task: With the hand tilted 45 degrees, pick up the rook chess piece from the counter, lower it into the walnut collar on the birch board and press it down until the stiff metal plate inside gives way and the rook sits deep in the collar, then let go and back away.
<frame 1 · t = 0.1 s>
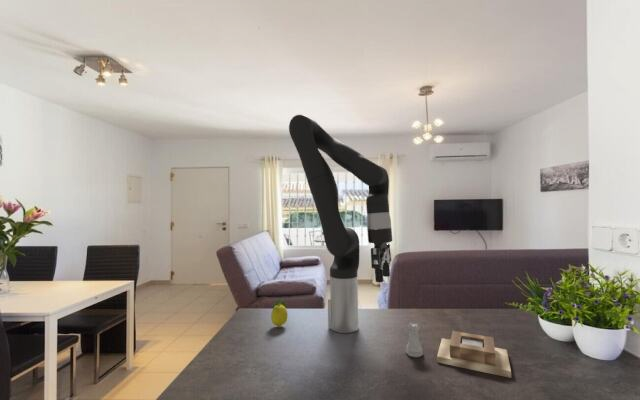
hand: (383, 279, 93), 17 cm above the kitchen counter, tool pointing down, fingers open, 8 cm apart
rook chess piece: (414, 354, 80), on the kitchen counter
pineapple: (279, 328, 100), on the kitchen counter
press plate: (472, 345, 77), point 3 cm above the kitchen counter, slide at 0.0 cm
press socket: (472, 358, 77), on the kitchen counter
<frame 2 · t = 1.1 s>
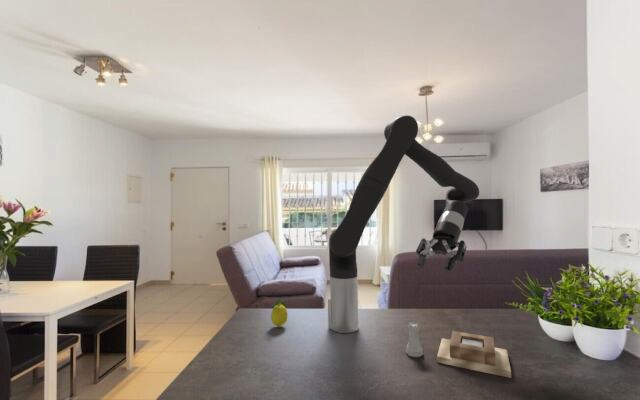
hand: (433, 268, 89), 21 cm above the kitchen counter, tool tilted 45°, fingers open, 8 cm apart
nothing on the kitchen counter moved.
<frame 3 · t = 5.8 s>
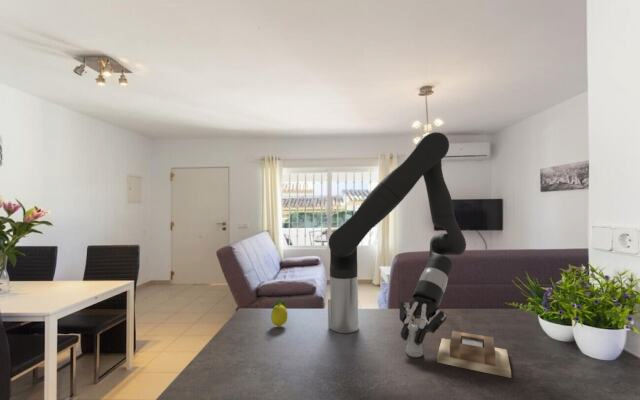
hand: (410, 341, 79), 4 cm above the kitchen counter, tool tilted 45°, fingers closed on rook chess piece, 3 cm apart
rook chess piece: (414, 354, 80), on the kitchen counter, touching gripper
everything else where it was.
when the fingers open (6 cm above the kitchen counter, at t = 12.1 s): rook chess piece stays where it is, resting on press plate.
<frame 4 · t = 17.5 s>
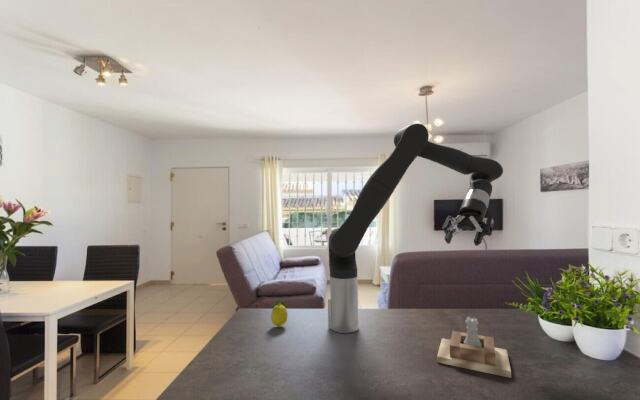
hand: (461, 243, 91), 29 cm above the kitchen counter, tool tilted 45°, fingers open, 8 cm apart
rook chess piece: (472, 350, 77), point 2 cm above the kitchen counter, touching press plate
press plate: (472, 351, 77), point 2 cm above the kitchen counter, slide at -1.6 cm, touching press socket, rook chess piece
everything else where it was.
at the end: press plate slide at -1.6 cm; rook chess piece 0.2 cm off-centre on the press socket, point 2.1 cm above the press socket's base; the gripper is holding nothing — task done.
